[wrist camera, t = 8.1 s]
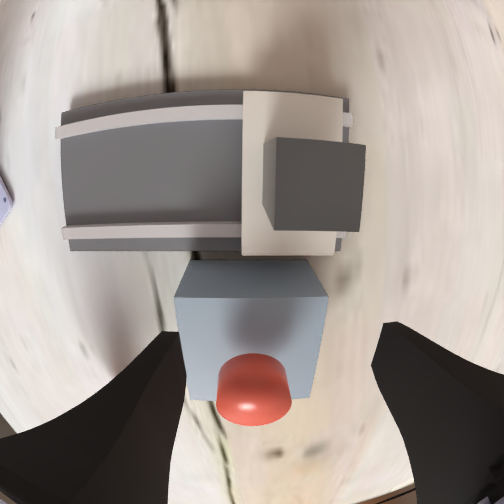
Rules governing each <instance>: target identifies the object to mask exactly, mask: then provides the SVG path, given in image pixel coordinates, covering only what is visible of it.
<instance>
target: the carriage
mask: <svg viewBox="0 0 504 504" xmlns="http://www.w3.org/2000/svg"><path fill="white" fill-rule="evenodd" d="M342 137H343V99H340V98H333V97H326V96H318V95H309V94H298V93H286V92H268V91H243V129H242V230H241V247H242V256H272V255H334V252H335V243H336V233H337V231H341V232H359V228H360V219H361V210H362V199H363V186H364V171H365V150H366V145H360V144H352V143H344V142H342Z"/></svg>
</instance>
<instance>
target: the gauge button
mask: <svg viewBox="0 0 504 504" xmlns="http://www.w3.org/2000/svg"><path fill="white" fill-rule="evenodd" d="M291 403H292V400H291V395H290V390H289V385H288V380H287V375H286V370H285V368H284V366H283V365H282V363H281V362H279V361H278V360H277V359H275V358H273V357H271V356H269V355H265V354H259V353H248V354H242V355H238V356H236V357H233V358H231V359H230V360H228V361H227V362H226V363H224V365H223V366H222V367H221V369H220V371H219V374H218V386H217V400H216V407H217V410H218V412H219V413H220V415H221V416H222V417H224V418H225V419H227V420H228V421H230V422H233V423H235V424H239V425H245V426H259V425H265V424H269V423H272V422H274V421H276V420H278V419H280V418H282V417H283V416H284V415H285V414H286V413H287V412H288V411H289V409H290V407H291Z"/></svg>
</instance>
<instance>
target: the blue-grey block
mask: <svg viewBox="0 0 504 504" xmlns="http://www.w3.org/2000/svg"><path fill="white" fill-rule="evenodd" d="M328 297H329V296H328V294H327V293H326V291H325V289H324V288H323V286H322V284H321V283H320V281H319V279H318V278H317V276H316V274H315V273H314V271H313V269H312V268H311V266H310V264H309V263H308V261H307V260H190V261H189V264H188V266H187V268H186V270H185V273H184V275H183V277H182V280H181V282H180V284H179V287H178V289H177V291H176V294H175V296H174V302H175V310H176V318H177V325H178V332H179V334H180V340H181V346H182V352H183V358H184V363H185V368H186V374H187V378H186V380H187V385H188V390H189V395H190V400H206V401H216V400H217V386H218V374H219V371H220V369H221V367H222V366H223V365H224V363H226V362H227V361H228V360H230V359H231V358H233V357H236V356H238V355H242V354H248V353H259V354H265V355H269V356H271V357H273V358H275V359H277V360H278V361H279V362H281V363H282V365H283V366H284V368H285V370H286V375H287V380H288V385H289V390H290V395H291V399H299V398H309V397H310V393H311V388H312V384H313V379H314V375H315V370H316V365H317V360H318V355H319V350H320V345H321V339H322V334H323V328H324V322H325V316H326V310H327V304H328Z"/></svg>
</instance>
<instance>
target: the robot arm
mask: <svg viewBox="0 0 504 504" xmlns="http://www.w3.org/2000/svg"><path fill="white" fill-rule="evenodd" d="M12 206H13V201H12V199H11V197H10V195H9V193H8V191H7V189H6V187H5V185H4V182H3V180H2V178H1V176H0V226H1V224H2V222H3V221H4V219H5V218H6V216H7V215H8V213H9V211H10V210H11V208H12ZM371 367H372V370H373V373H374V376H375V379H376V382H377V385H378V387H379V389H380V392H381V394H382V396H383V398H384V400H385V402H386V404H387V406H388V408H389V410H390V412H391V414H392V416H393V418H394V420H395V422H396V424H397V426H398V428H399V430H400V433H401V435H402V437H403V440H404V443H405V447H406V450H407V453H408V456H409V460H410V464H411V468H412V473H413V477H414V483H415V489H416V495H417V504H504V375H503V374H500V373H497V372H494V371H491V370H488V369H486V368H483V367H481V366H478V365H476V364H474V363H472V362H469V361H467V360H465V359H463V358H461V357H460V356H458V355H456V354H454V353H452V352H450V351H448V350H447V349H445V348H443V347H441V346H440V345H438V344H436V343H435V342H433V341H431V340H429V339H428V338H426V337H424V336H423V335H421V334H419V333H418V332H416V331H414V330H413V329H411V328H409V327H407V326H405V325H403V324H401V323H399V322H389V323H383V327H382V331H381V334H380V338H379V341H378V344H377V348H376V351H375V354H374V357H373V361H372V364H371ZM186 378H187V374H186V368H185V363H184V358H183V352H182V346H181V340H180V334H179V332H167V331H162V332H161V333H160V334H159V335H158V336H157V337H156V338H155V339H154V340H153V341H152V342H151V343H150V344H149V345H148V346H147V347H146V348H145V349H144V350H143V351H142V352H141V353H140V354H139V355H138V356H137V357H136V358H135V359H134V360H133V361H132V362H131V363H130V364H129V365H128V366H127V367H126V368H125V369H124V370H123V371H122V372H120V373H119V374H118V375H117V376H116V377H115V378H114V379H113V380H111V381H110V382H109V383H108V384H107V385H106V386H104V387H103V388H102V389H100V390H99V391H98V392H97V393H95V394H94V395H92V396H91V397H90V398H88V399H87V400H85V401H84V402H82V403H81V404H79V405H78V406H76V407H74V408H72V409H71V410H69V411H67V412H66V413H64V414H62V415H60V416H59V417H57V418H55V419H53V420H51V421H49V422H46V423H44V424H42V425H40V426H37V427H35V428H32V429H30V430H27V431H24V432H21V433H18V434H15V435H11V436H8V437H5V438H1V439H0V491H1V492H2V493H4V494H5V495H6V496H7V497H9V498H10V499H12V500H13V501H14V502H16V503H17V504H168V484H169V472H170V461H171V455H172V450H173V445H174V441H175V437H176V432H177V428H178V424H179V420H180V416H181V411H182V407H183V403H184V397H185V388H186ZM0 504H6V503H5V502H4V501H2V500H1V499H0Z"/></svg>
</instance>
